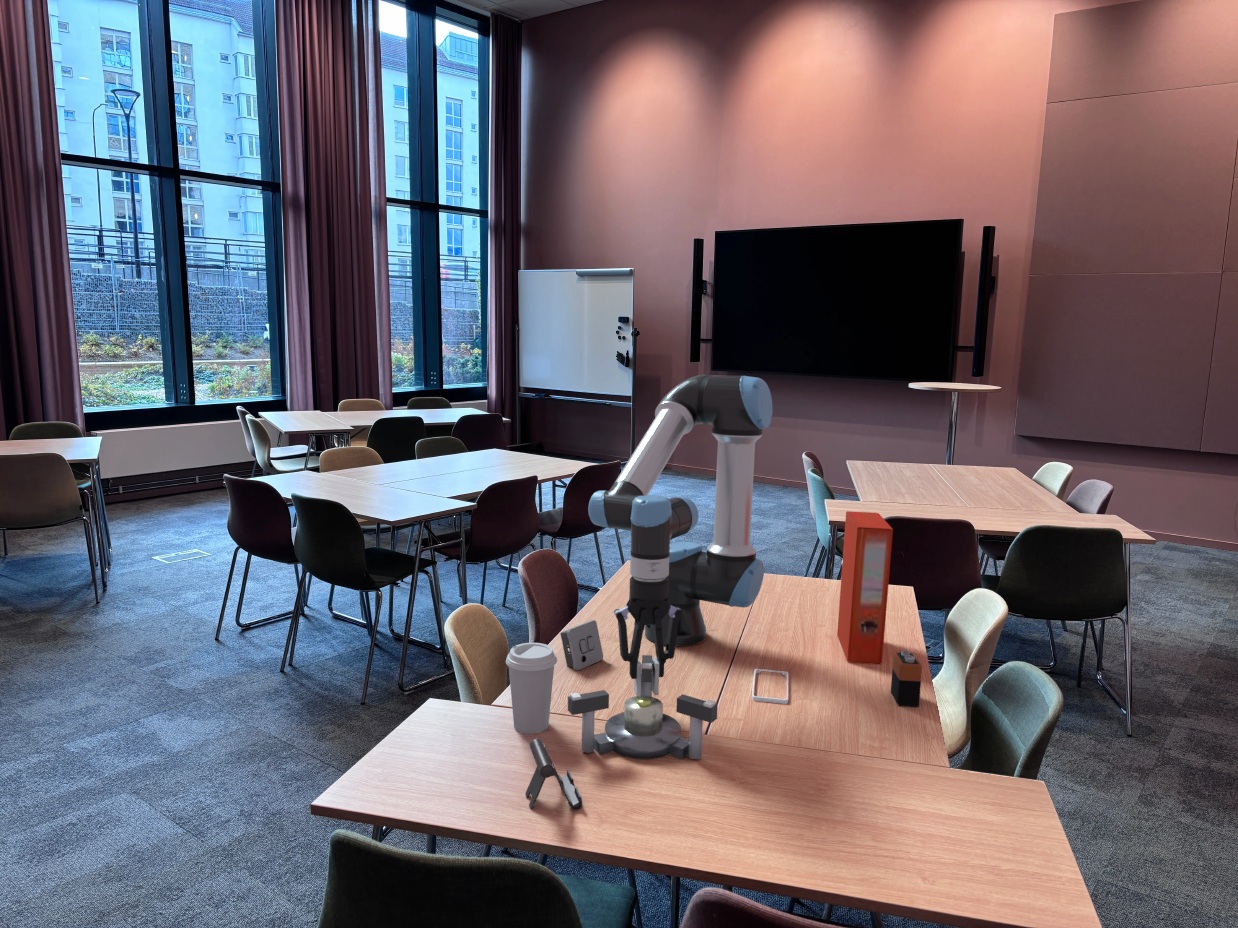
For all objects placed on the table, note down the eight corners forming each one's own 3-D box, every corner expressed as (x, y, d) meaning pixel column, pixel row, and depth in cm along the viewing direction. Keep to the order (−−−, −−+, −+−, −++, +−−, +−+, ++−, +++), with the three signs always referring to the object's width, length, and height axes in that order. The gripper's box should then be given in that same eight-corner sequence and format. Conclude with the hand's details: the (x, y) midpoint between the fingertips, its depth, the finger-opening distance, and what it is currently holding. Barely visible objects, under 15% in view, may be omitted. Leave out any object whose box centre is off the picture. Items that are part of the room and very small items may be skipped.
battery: (897, 706, 168) (901, 659, 167) (889, 692, 175) (893, 647, 173) (919, 707, 168) (923, 660, 166) (911, 693, 175) (914, 648, 173)
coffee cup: (535, 709, 164) (535, 637, 161) (566, 726, 157) (567, 650, 155) (495, 724, 157) (495, 649, 155) (527, 742, 150) (527, 664, 148)
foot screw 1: (603, 742, 150) (604, 686, 148) (608, 748, 148) (609, 691, 146) (567, 750, 147) (567, 693, 145) (571, 756, 145) (572, 698, 143)
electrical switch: (577, 672, 182) (574, 631, 182) (559, 668, 186) (557, 627, 185) (604, 660, 190) (602, 620, 189) (587, 656, 193) (584, 617, 192)
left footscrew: (674, 752, 147) (676, 695, 145) (681, 747, 149) (682, 691, 147) (709, 764, 143) (711, 706, 142) (715, 759, 145) (717, 701, 143)
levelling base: (638, 711, 164) (639, 674, 162) (712, 735, 154) (713, 696, 153) (582, 748, 149) (582, 707, 148) (660, 777, 140) (661, 734, 138)
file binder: (870, 637, 207) (878, 512, 202) (883, 664, 190) (893, 528, 185) (837, 635, 208) (844, 511, 203) (847, 662, 191) (855, 526, 186)
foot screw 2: (640, 703, 167) (641, 652, 165) (651, 703, 166) (652, 652, 165) (639, 719, 160) (641, 666, 158) (651, 719, 160) (652, 666, 158)
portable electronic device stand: (582, 810, 129) (583, 760, 128) (532, 817, 127) (533, 767, 126) (569, 781, 138) (570, 734, 137) (522, 787, 136) (522, 740, 134)
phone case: (788, 706, 169) (788, 677, 183) (788, 699, 168) (788, 671, 183) (751, 702, 170) (754, 673, 185) (751, 696, 170) (754, 668, 184)
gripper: (612, 583, 154) (609, 703, 157) (694, 580, 157) (690, 698, 160) (605, 572, 161) (602, 687, 164) (684, 570, 164) (680, 682, 167)
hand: (646, 692), depth 162 cm, fingers closed on foot screw 2, 3 cm apart
